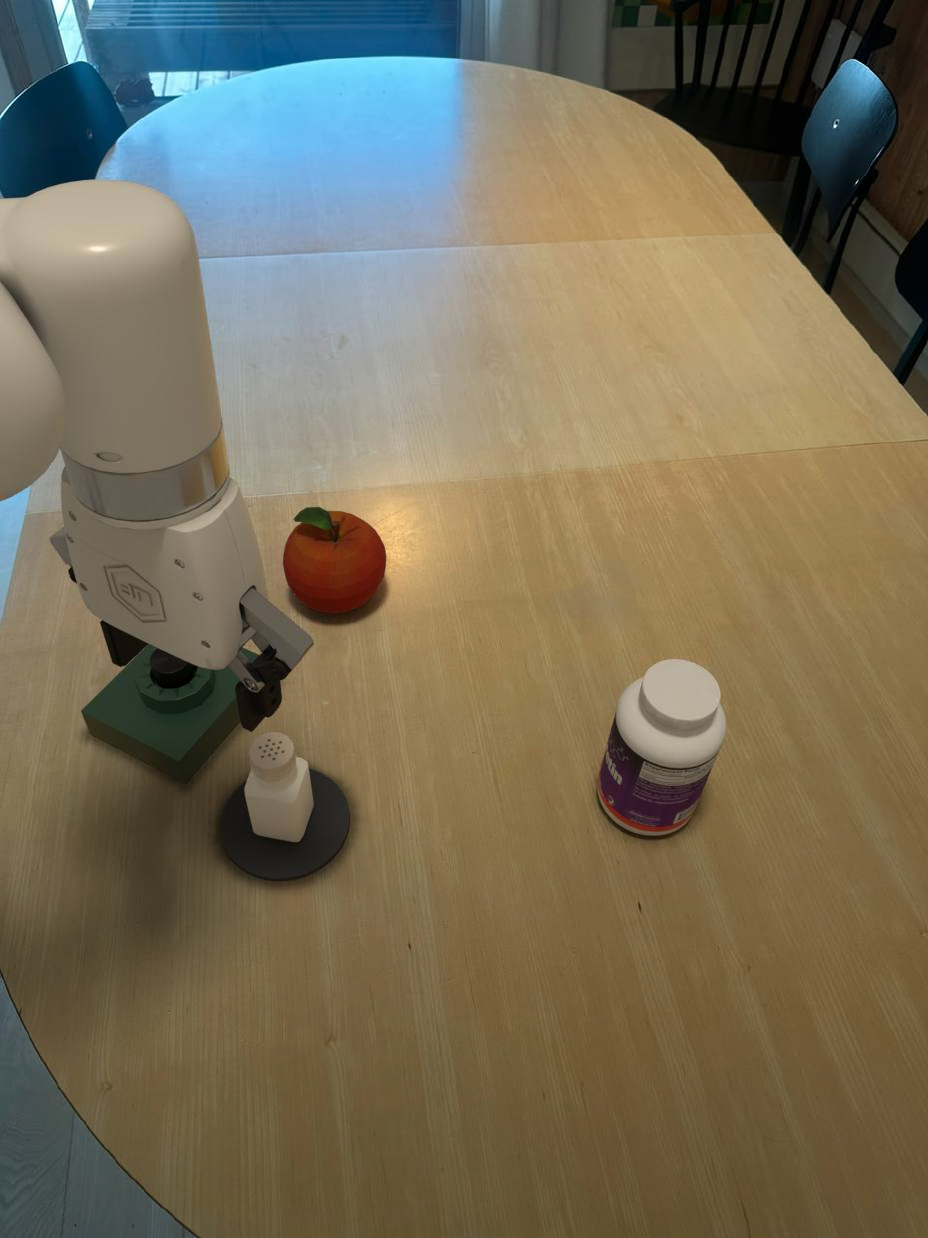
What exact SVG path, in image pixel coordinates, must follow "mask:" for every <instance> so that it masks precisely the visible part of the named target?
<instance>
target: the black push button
mask: <svg viewBox="0 0 928 1238" xmlns="http://www.w3.org/2000/svg"><path fill="white" fill-rule="evenodd" d="M150 665H151V669H152V672H153V675H154V678H155V681H156V683H157V684H158V685H160V686H161V687H164V688H167V689H175V688H179V687H182V686H184V685H186V684H187V683H188V682H189V681H190V680H191V679H192V678H193V675H194V667H193V664H191V663H189V662H187V661H185V660H182V659H180V658H178V657H176V656H174V655H172V654H170V653H167V652H165V651H163V650H161V649H159V648H157V649H156V650H155V651H154V652H153V653H152V655H151V657H150Z"/></svg>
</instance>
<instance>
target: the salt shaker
mask: <svg viewBox="0 0 928 1238" xmlns="http://www.w3.org/2000/svg"><path fill="white" fill-rule="evenodd" d="M248 751H249V753H248V757H249V762H250V766H251V767H250V768H251V769H250V771H249V774H248V776H247V779H246V781H247V782H246V781H245V782H246V785H245V788H244V791H245V798H246V802H247V806H248V811H249V815H250V819H251V824H252V828H253V832H254V833H255V834H257V835H259V836H264V837H269V838H275V839H280V840H285V841H290V842H299V841H300V840H301V839H302V837H303V835H304V832H305V830H306V827H307V824H308V821H309V818H310V815H311V812H312V809H313V806H314V803H313V795H312V788H311V781H310V774H309V769H310V768H309V762H308V761H307V760H305V759H304V758H302V757H299V756H297V755H296V754H297V753H296V748H295V743H294V742H293V741H292V739H291V738H290V735H286V734H285V733H282V732H280V731H270V732H268V731H267V732H265V733H263V734H260V735H259V736H257V737H256V738H254V740H253V741H252V742H251V744H250V746H249V750H248Z"/></svg>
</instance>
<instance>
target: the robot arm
mask: <svg viewBox="0 0 928 1238" xmlns="http://www.w3.org/2000/svg"><path fill="white" fill-rule="evenodd" d="M202 277H203V276H202V269H201V264H200V258H199V251H198V246H197V241H196V235H195V232H194V229H193V225H192V224H191V223H190V220H189V218H188V217H187V215H186V213H185V211H184V210H183V209H182V207H180V206H179V205H178V204H177V203H176V201H174V200H173V198H171V197H169V196H168V195H166V194H165V193H163V192H161V191H159V190H157V189H155V188H153V187H150V186H148V185H145V184H141V183H138V182H133V181H127V180H121V179H102V178H99V179H83V180H76V181H69V182H64V183H59V184H56V185H51V186H48V187H46V188H43V189H41V190H38V191H35V192H34V193H32V194H30V195H28V196H25V197H10V198H9V197H8V198H7V197H5V198H0V502H3V501H5V500H8V499H10V498H13V497H14V496H16V495H18V494H20V493H21V492H23V491H24V490H26V489H28V488H29V487H31V486H32V485H33V484H35V482H36V481H37V480H39V479H40V478H41V477H42V476H43V475H44V474H45V473H46V472H47V471H48V469H49V468H50V466H51V465H52V463H53V462H54V461H55V459H56V458H57V455H58V453H59V451H60V454H61V456H62V460H63V463H64V467H63V469H62V471H61V476H60V477H61V478H60V505H61V515H62V522H63V526H62V527H61V528H60V529H58V530H57V531H56V532H55V533H53V534H52V535H51V536H49V543H51V546H52V547H53V549H54V550H55V551H56V553H57V555H59V557H60V558H61V560H62V561H63V563H64V564H65V565H68V566H69V568H68V570H67V573H68V575H69V579H70V580H71V581H72V582H73V583H74V584H76V585H77V587H78V590H79V591H78V592H79V594H80V596H81V599H82V601H83V604H84V605H85V607H86V608H87V610H88V611H89V612H90V613H91V614H92V615H94V616H95V617H97V618H98V619H99V620H100V621H99V625H100V628H101V631H102V634H103V638H104V641H105V645H106V647H107V650H108V653H109V658H110V661H111V662H112V664H113V665H115V666H116V667H117V666H118V667H119V668H124V667H126V666H127V665H128V664H129V663H130V662H131V661H132V660H133V659H134V658H135V657H136V656H137V655H138V654H139V653H140V652H141V651H142V650H143V649H144V648H145V647H146V646H147V645H148V644H151V645H153V646H155V647H157V648H159V649H161V650H163V651H165V652H167V653H170V654H172V655H174V656H176V657H178V658H180V659H182V660H185V661H187V662H189V663H191V664H194V665H196V666H199V667H202V668H206V669H213V670H219V669H224V668H225V667H226V666H227V665H228V666H229V668H230V669H231V670H232V671H233V672H234V674H235V675H236V676H237V677H238V678H239V680H240V681H239V682H238V683H237V685H236V687H235V693H236V698H237V704H238V710H239V715H240V725H241V727H242V728H243V730H246V731H248V732H250V733H252V732H254V731H255V729H257V727H258V726H259V725H260V724H261V723H262V722H263V720H264V719H265V718H266V719H267V718H268V719H269V718H271V717H273V715H275V713H276V712H277V711H278V709H280V706H281V704H282V700H283V693H282V685H281V681H283V680H285V679H287V677H288V676H289V675H290V674H291V672H293V670H294V669H295V668H296V667H297V666H298V665H299V663H300V662H301V661H302V660H303V658H305V656H306V655H307V654H308V653H309V652H310V650H312V648H313V646H314V645H315V641H314V639H313V637H312V636H311V635H310V633H308V632H306V630H305V629H303V628H301V627H300V625H298V624H297V623H296V622H294V621H293V620H292V619H291V618H290V617H289V616H288V615H286V613H284V612H282V611H281V610H280V609H279V608H278V607H277V606H276V605H274V604H273V603H272V602H271V601H269V594H268V586H267V580H266V573H265V569H264V564H263V559H262V554H261V551H260V546H259V543H258V542H259V541H258V538H257V536H256V532H255V529H254V528H255V527H254V525H253V521H252V518H251V516H250V512H249V509H248V506H247V503H246V500H245V499H244V496H243V493H242V491H241V488H240V486H239V484H238V482H237V481H235V480H234V479H233V478H232V477H231V470H230V464H229V458H228V450H227V442H226V435H225V430H224V423H223V416H222V415H223V414H222V409H221V401H220V395H219V389H218V382H217V381H218V379H217V375H216V366H215V360H214V353H213V345H212V339H211V332H210V324H209V318H208V312H207V304H206V298H205V291H204V285H203V278H202ZM250 640H251V642H253V644H254V645H255V646H256V647H257V649H258V650H259V651H260V652H261V653H259V654H258V655H259V656H258V657H257V658H256V659H255V660H254V661H253V663H252V664H251V663H250V662H249V661H248V659H247V658H246V657H245V656H244V654H243V653H242V652H241V651H240V649H241V648H242V647H243V648H244V646H245V645H246V644H247V643H248V642H249V641H250Z"/></svg>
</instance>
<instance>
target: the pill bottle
mask: <svg viewBox="0 0 928 1238" xmlns="http://www.w3.org/2000/svg"><path fill="white" fill-rule="evenodd" d="M721 695H722V693H721V689H720V686H719V683H718V682H717V680H716V678H715V677H714V675H713V674H712V673H710V672H709V671H708V670H707V669H706V668H704V667H703V666H702V665H700V664H698V663H695V662H693V661H689V660H687V659H680V658H670V659H664V660H661V661H658V662H656V663H654V664H653V665H651V667H649V668H648V669H647V670H646V672H645V673H644V676H641V677H639V678H638V679H636V680H634V681H633V682H631V683H630V684H629V685H628V686H627V687H626V688H625V689H624V690H623V692H622V694H621V695H620V696H619V699H618V702H617V705H616V709H615V713H614V716H613V721H612V723H611V727H610V731H609V735H608V739H607V743H606V746H605V750H604V754H603V759H602V761H601V765H600V769H599V771H598V777H597V782H596V788H597V796H598V798H599V801H600V804H601V807H602V808H603V809H604V811H605V813H606V814H607V815H608V816H609V817H610V818H611V820H612V821H614V822H615V823H616V824H617V825H619V826H620V827H622V828H623V829H625V830H627V831H629V832H632V833H634V834H638V835H643V836H652V837H653V836H656V837H657V836H665V835H668V834H671V833H673V832H676V831H678V830H680V829H681V828H682V827H684V826H685V825H686V824H687V823H688V822H689V820H690V819H691V818H692V816H693V814H694V813H695V810H696V809H697V806H698V804H699V801H700V799H701V796H702V794H703V791H704V789H705V787H706V784H707V781H708V779H709V776H710V774H711V771H712V770H713V767H714V765H715V762H716V760H717V758H718V755H719V754H720V751H721V748H722V747H723V744H724V741H725V739H726V736H727V735H726V734H727V718H726V717H727V716H726V713H725V711H724V709H723V705H722V704H721V697H722V696H721Z"/></svg>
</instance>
